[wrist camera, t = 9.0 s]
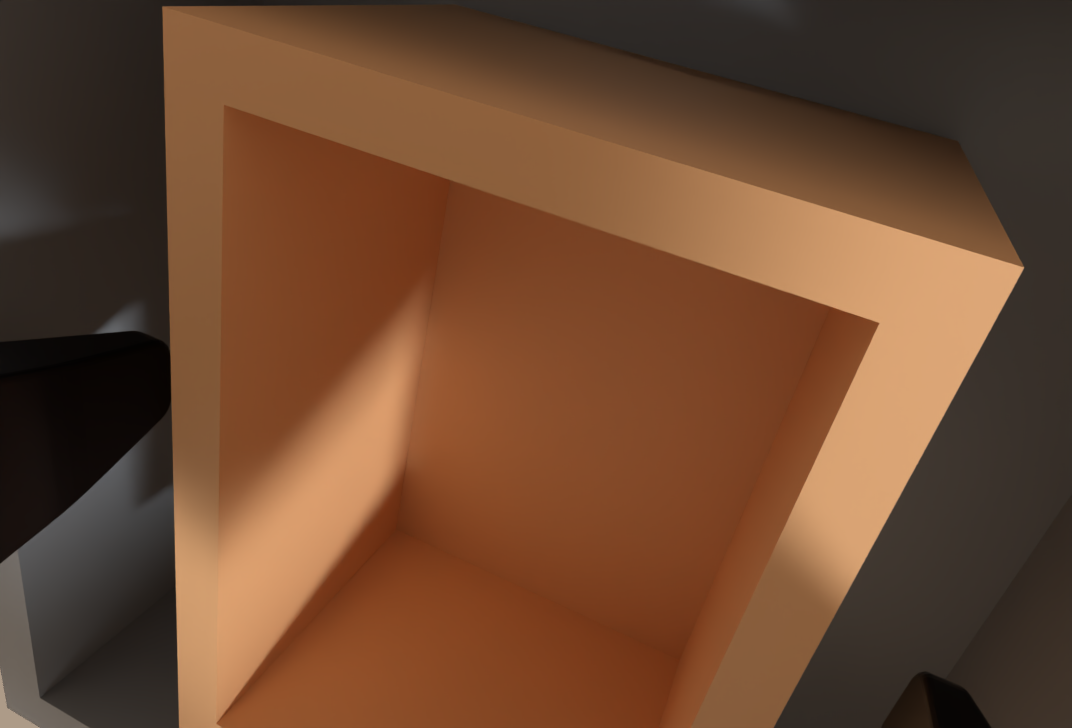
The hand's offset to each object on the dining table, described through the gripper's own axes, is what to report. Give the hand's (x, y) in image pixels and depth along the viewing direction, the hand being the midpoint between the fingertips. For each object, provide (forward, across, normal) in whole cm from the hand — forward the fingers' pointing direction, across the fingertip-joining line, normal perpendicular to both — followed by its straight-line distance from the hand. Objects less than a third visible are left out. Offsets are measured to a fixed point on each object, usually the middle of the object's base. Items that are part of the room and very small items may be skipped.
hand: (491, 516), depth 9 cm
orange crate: (+4, 0, 0) cm, 4 cm away
